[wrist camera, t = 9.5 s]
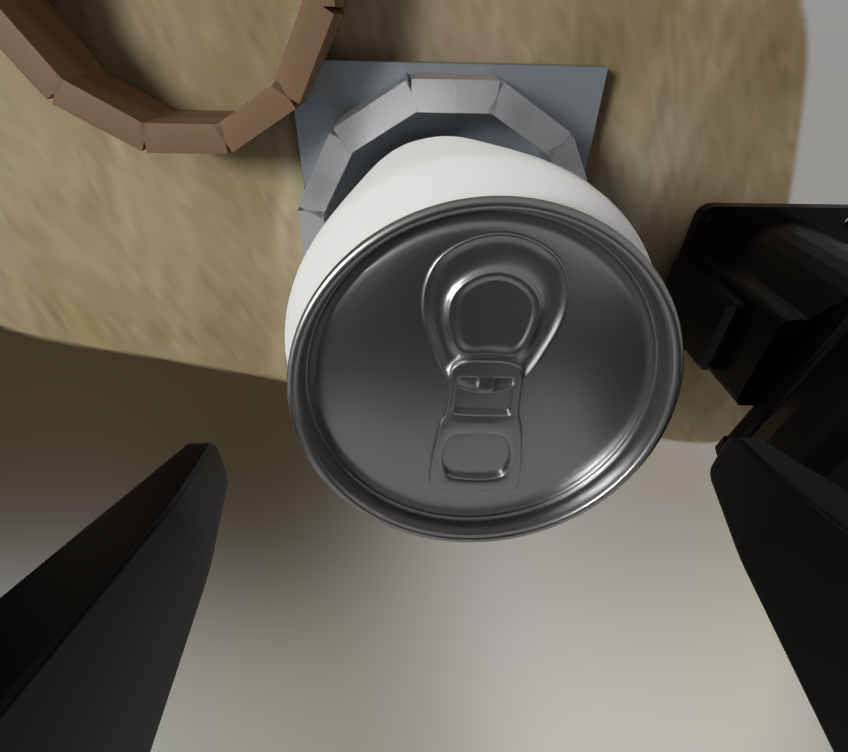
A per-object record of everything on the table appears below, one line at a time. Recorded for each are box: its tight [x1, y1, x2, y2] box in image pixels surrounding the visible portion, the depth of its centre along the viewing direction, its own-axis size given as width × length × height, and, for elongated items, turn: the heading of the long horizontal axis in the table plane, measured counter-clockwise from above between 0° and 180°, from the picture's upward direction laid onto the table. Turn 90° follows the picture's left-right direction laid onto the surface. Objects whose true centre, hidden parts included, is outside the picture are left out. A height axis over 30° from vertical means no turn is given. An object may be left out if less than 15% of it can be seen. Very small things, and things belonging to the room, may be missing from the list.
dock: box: [294, 59, 608, 256], centre depth 17 cm, size 10×10×3 cm
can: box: [285, 136, 684, 542], centre depth 12 cm, size 6×6×12 cm
